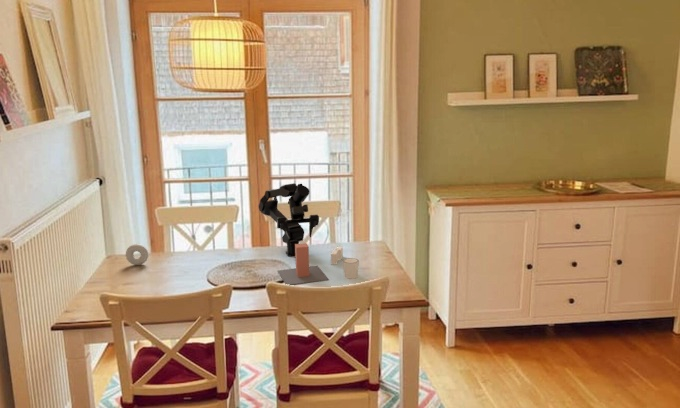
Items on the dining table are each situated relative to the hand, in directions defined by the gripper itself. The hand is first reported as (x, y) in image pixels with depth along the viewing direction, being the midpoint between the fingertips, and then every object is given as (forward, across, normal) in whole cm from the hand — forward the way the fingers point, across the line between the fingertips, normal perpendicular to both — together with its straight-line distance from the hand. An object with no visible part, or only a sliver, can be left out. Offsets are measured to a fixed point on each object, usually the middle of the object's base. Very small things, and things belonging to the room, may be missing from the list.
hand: (300, 237), depth 259 cm
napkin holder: (+8, +17, +11) cm, 22 cm away
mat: (+19, -1, -1) cm, 19 cm away
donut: (-4, -72, +22) cm, 76 cm away
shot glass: (+23, +18, -5) cm, 30 cm away
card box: (+18, -1, -1) cm, 18 cm away
